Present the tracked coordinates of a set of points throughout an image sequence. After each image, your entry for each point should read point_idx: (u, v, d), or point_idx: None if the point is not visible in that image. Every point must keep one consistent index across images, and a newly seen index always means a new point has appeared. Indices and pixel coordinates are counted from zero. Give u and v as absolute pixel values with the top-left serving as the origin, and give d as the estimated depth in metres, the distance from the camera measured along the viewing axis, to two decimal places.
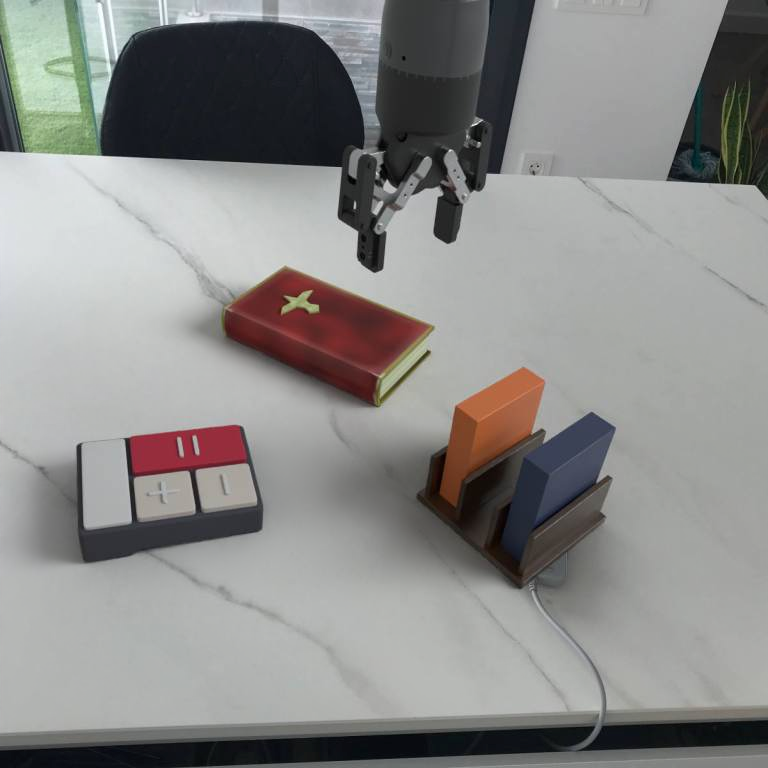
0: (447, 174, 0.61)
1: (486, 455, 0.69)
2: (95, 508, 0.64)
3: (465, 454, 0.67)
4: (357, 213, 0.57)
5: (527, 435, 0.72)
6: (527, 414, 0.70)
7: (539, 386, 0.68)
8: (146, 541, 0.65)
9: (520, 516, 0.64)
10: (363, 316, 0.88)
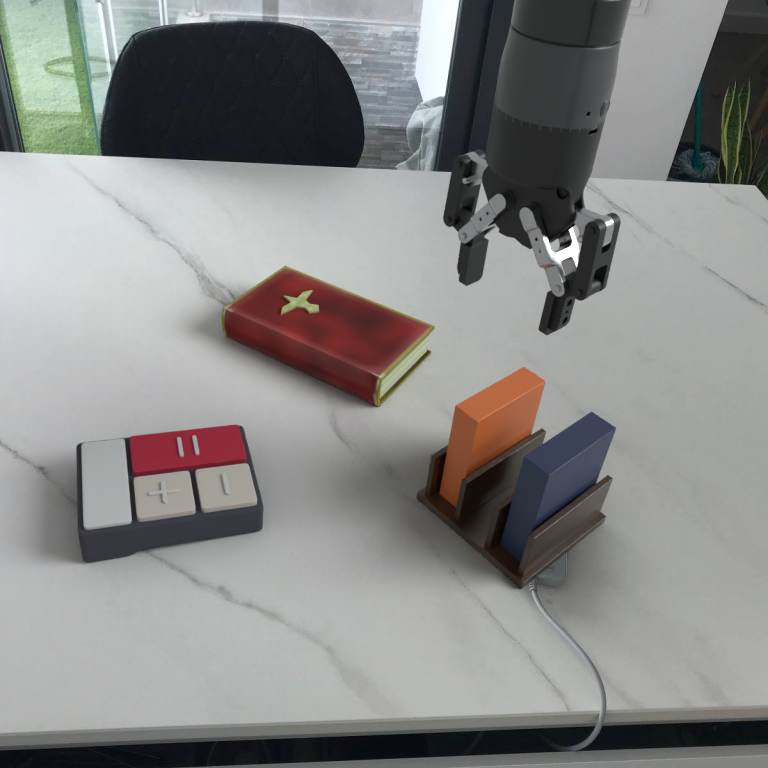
0: (531, 238, 0.56)
1: (486, 455, 0.69)
2: (95, 508, 0.64)
3: (465, 454, 0.67)
4: None
5: (527, 435, 0.72)
6: (527, 414, 0.70)
7: (539, 386, 0.68)
8: (146, 541, 0.65)
9: (520, 516, 0.64)
10: (363, 315, 0.88)
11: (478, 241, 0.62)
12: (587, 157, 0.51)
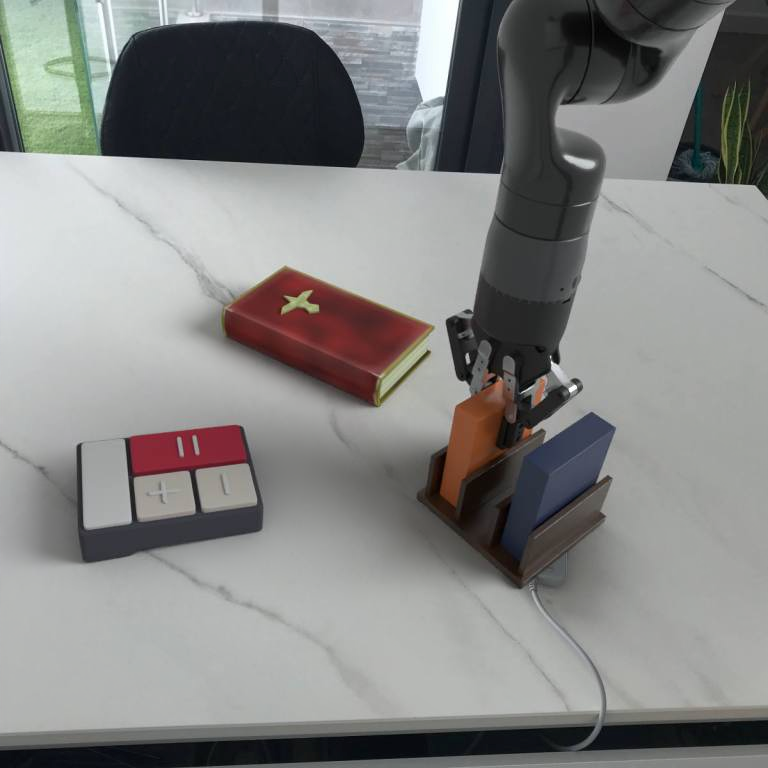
0: (505, 375, 0.64)
1: (486, 455, 0.69)
2: (95, 508, 0.64)
3: (465, 454, 0.67)
4: None
5: (527, 435, 0.72)
6: None
7: (539, 386, 0.68)
8: (146, 541, 0.65)
9: (520, 516, 0.64)
10: (363, 315, 0.88)
11: None
12: (561, 320, 0.59)
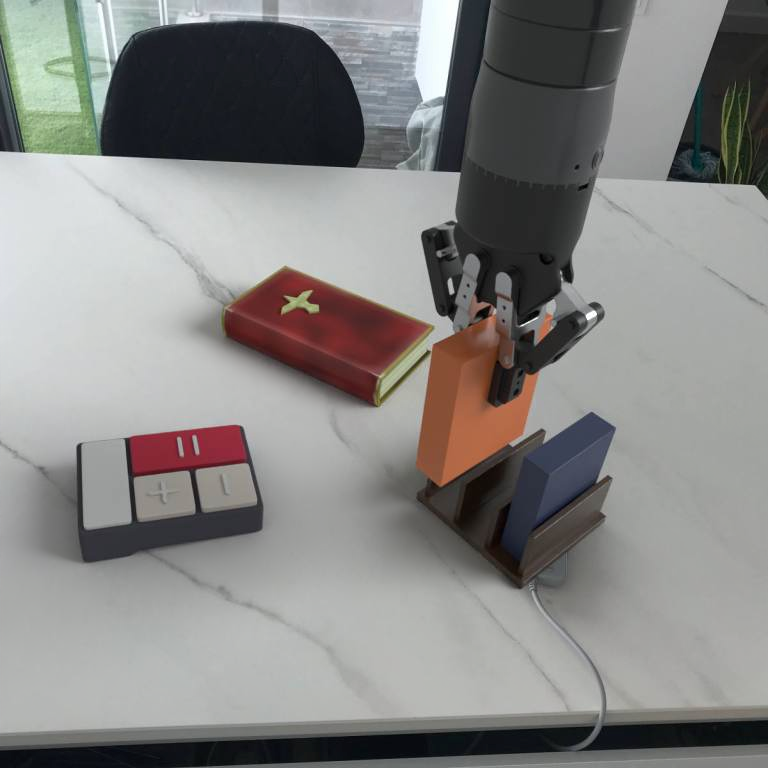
0: (499, 301, 0.47)
1: (475, 414, 0.52)
2: (95, 508, 0.64)
3: (447, 410, 0.50)
4: None
5: (529, 391, 0.56)
6: None
7: (545, 323, 0.52)
8: (146, 541, 0.65)
9: (520, 516, 0.64)
10: (363, 315, 0.88)
11: None
12: (576, 216, 0.42)
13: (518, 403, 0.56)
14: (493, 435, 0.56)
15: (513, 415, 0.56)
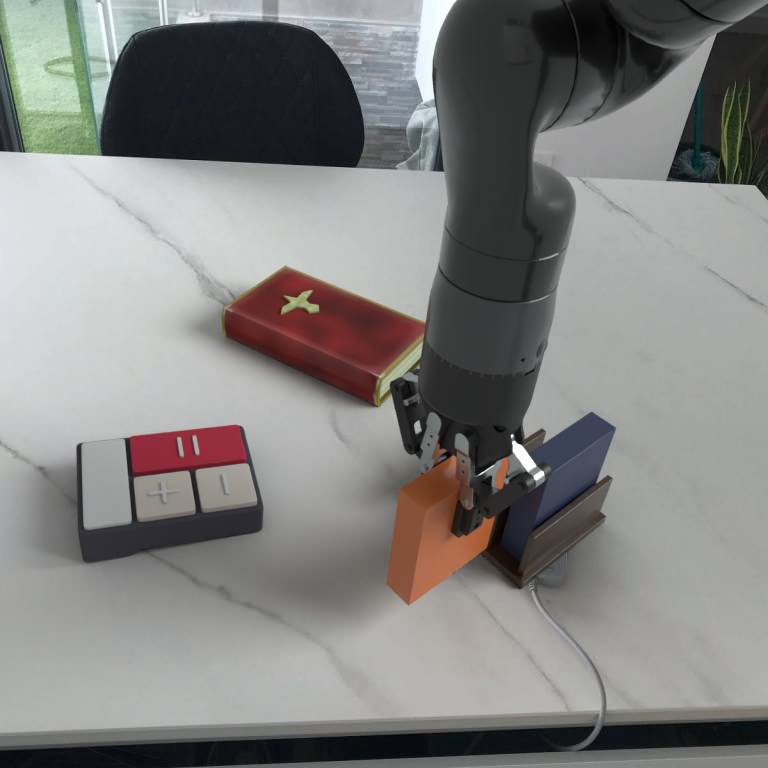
0: (459, 454, 0.52)
1: (439, 544, 0.57)
2: (95, 508, 0.64)
3: (413, 545, 0.55)
4: None
5: None
6: None
7: (503, 461, 0.57)
8: (146, 541, 0.65)
9: (520, 516, 0.64)
10: (363, 315, 0.88)
11: None
12: (524, 394, 0.47)
13: (480, 526, 0.61)
14: (458, 555, 0.61)
15: (476, 536, 0.61)
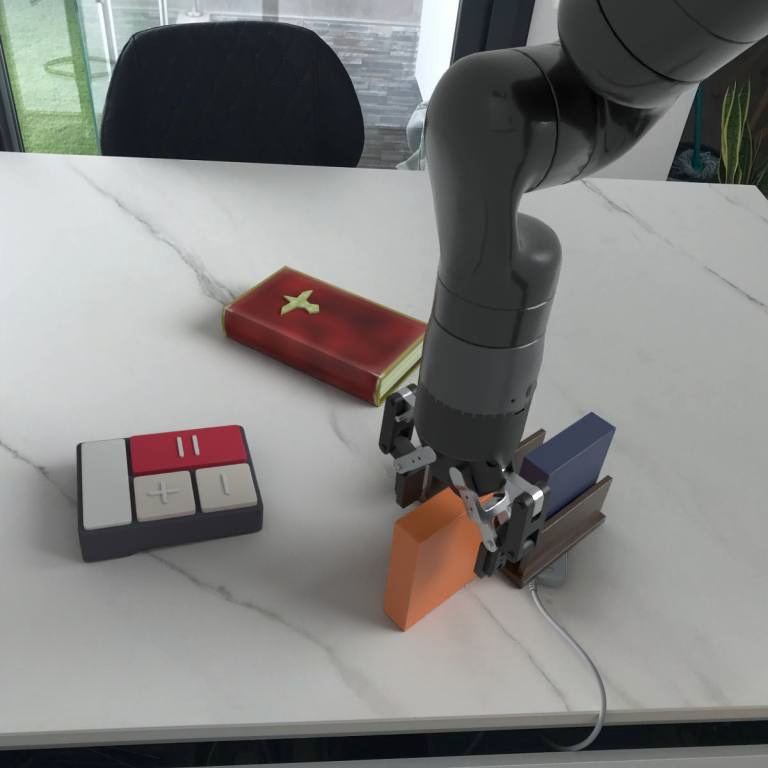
0: (462, 493, 0.54)
1: (433, 573, 0.59)
2: (95, 508, 0.64)
3: (408, 575, 0.57)
4: None
5: None
6: None
7: None
8: (146, 541, 0.65)
9: None
10: (363, 315, 0.88)
11: (414, 469, 0.60)
12: (515, 432, 0.49)
13: (473, 554, 0.63)
14: (452, 582, 0.63)
15: (469, 563, 0.64)
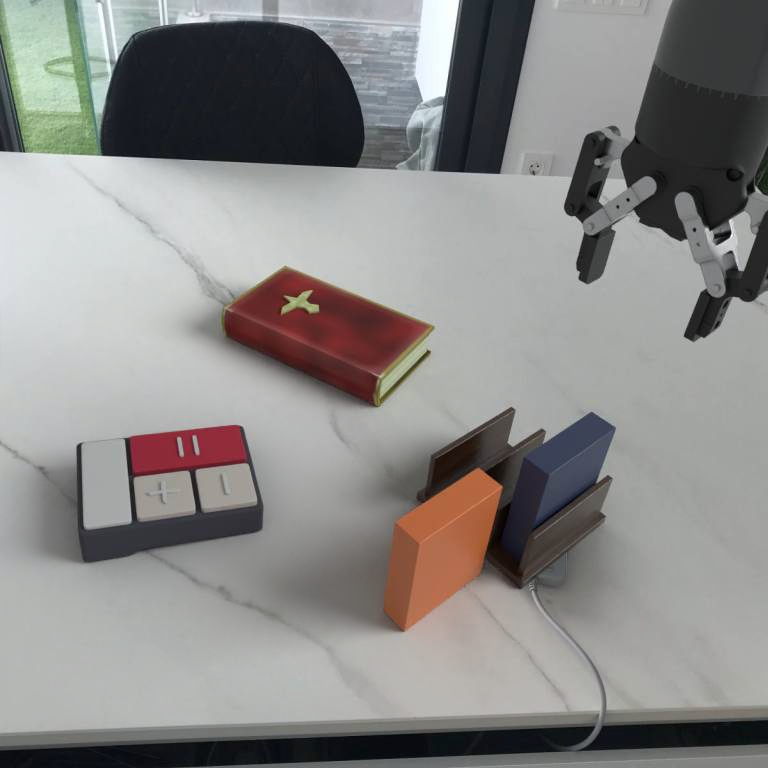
0: (686, 228, 0.47)
1: (433, 573, 0.59)
2: (95, 508, 0.64)
3: (408, 575, 0.57)
4: None
5: (484, 542, 0.63)
6: (482, 522, 0.61)
7: (495, 493, 0.59)
8: (146, 541, 0.65)
9: (520, 516, 0.64)
10: (363, 315, 0.88)
11: (605, 233, 0.53)
12: None
13: (473, 554, 0.63)
14: (452, 582, 0.63)
15: (469, 563, 0.64)
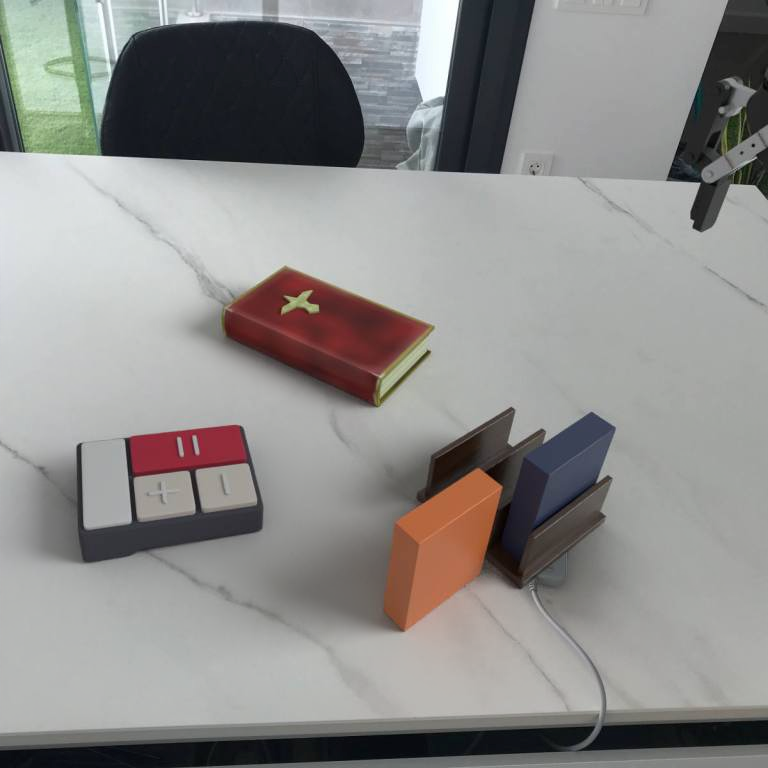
0: None
1: (433, 573, 0.59)
2: (95, 508, 0.64)
3: (408, 575, 0.57)
4: None
5: (484, 543, 0.63)
6: (482, 522, 0.61)
7: (495, 493, 0.59)
8: (146, 541, 0.65)
9: (520, 516, 0.64)
10: (363, 315, 0.88)
11: (722, 181, 0.56)
12: None
13: (473, 554, 0.63)
14: (452, 582, 0.63)
15: (469, 563, 0.64)
